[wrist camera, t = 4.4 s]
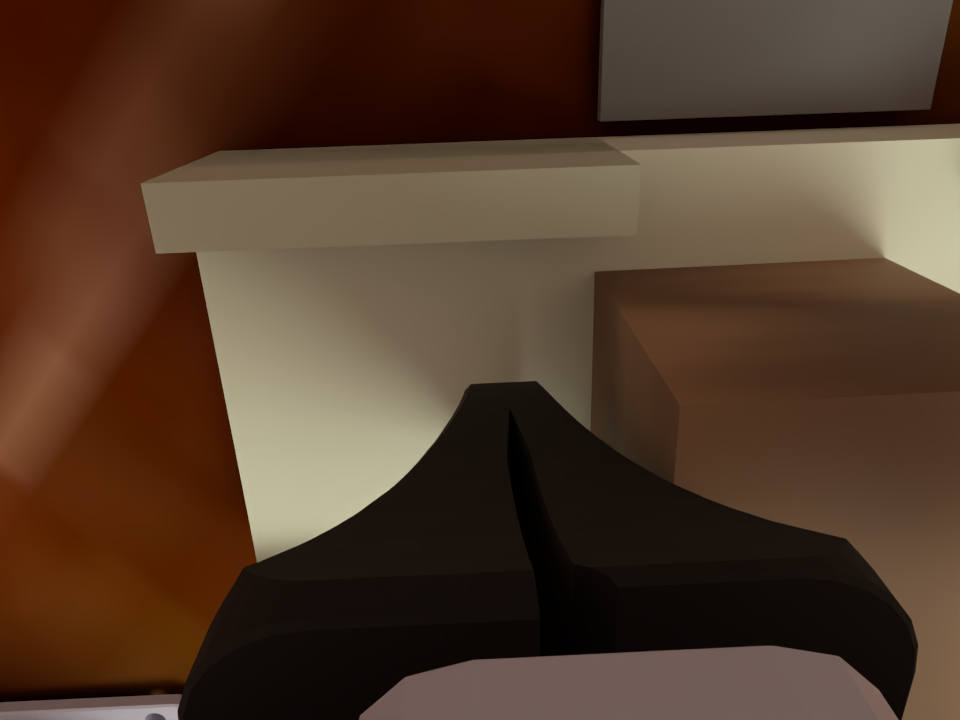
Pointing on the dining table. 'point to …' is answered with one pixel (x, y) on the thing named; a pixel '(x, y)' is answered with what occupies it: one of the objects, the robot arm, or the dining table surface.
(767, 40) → the mats
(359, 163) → the trap lane
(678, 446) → the walnut block
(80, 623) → the dining table surface
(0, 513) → the dining table surface
